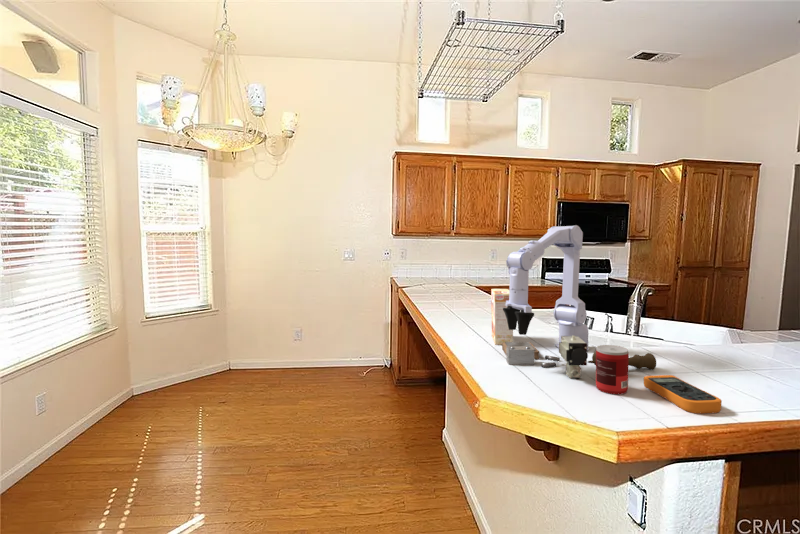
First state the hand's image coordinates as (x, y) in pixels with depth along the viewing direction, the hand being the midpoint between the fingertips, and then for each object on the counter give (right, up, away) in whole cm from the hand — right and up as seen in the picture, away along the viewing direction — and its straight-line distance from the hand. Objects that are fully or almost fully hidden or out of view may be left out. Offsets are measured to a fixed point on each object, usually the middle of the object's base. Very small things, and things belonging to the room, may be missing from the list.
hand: (517, 331), depth 132 cm
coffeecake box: (+3, -8, +31) cm, 32 cm away
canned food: (+19, -12, -22) cm, 32 cm away
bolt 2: (+9, -11, -3) cm, 14 cm away
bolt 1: (+13, -10, +4) cm, 17 cm away
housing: (+1, -10, +2) cm, 11 cm away
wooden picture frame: (+4, -9, +12) cm, 16 cm away
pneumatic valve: (+12, -11, -12) cm, 21 cm away
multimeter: (+32, -12, -30) cm, 45 cm away
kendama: (+29, -11, -7) cm, 32 cm away
